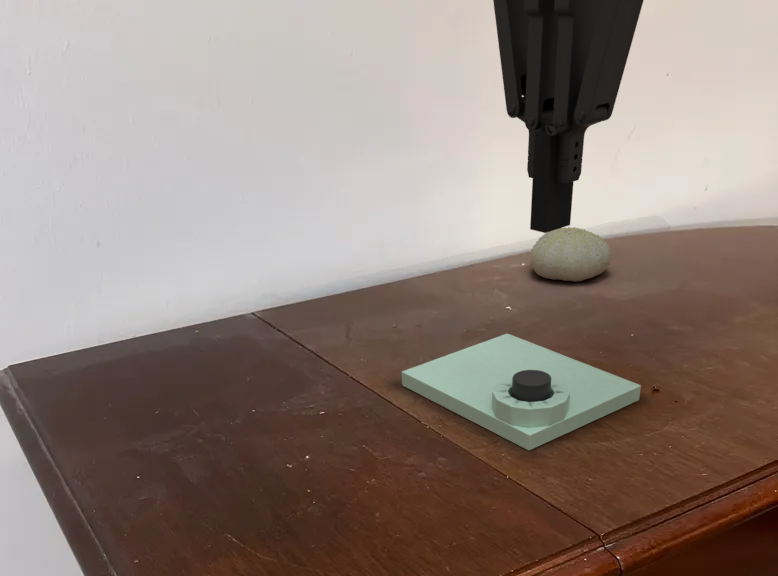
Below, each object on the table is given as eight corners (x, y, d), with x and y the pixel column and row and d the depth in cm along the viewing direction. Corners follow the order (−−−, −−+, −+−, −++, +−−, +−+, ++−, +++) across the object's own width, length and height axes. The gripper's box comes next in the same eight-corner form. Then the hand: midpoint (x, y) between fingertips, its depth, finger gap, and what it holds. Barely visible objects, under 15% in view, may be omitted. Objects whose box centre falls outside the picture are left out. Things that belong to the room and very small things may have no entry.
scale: (639, 400, 69) (644, 367, 67) (528, 451, 63) (531, 416, 61) (506, 346, 79) (508, 316, 78) (401, 385, 73) (400, 354, 72)
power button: (558, 395, 64) (559, 377, 63) (530, 407, 63) (532, 389, 62) (530, 384, 66) (531, 366, 65) (503, 395, 65) (504, 376, 64)
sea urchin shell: (588, 239, 100) (612, 201, 92) (601, 299, 99) (627, 266, 91) (516, 246, 99) (535, 209, 91) (529, 307, 98) (548, 274, 90)
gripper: (452, -181, 49) (453, 222, 63) (628, -222, 41) (585, 256, 54) (538, -179, 53) (521, 203, 67) (717, -216, 44) (655, 232, 58)
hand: (550, 226), depth 60 cm, fingers closed
